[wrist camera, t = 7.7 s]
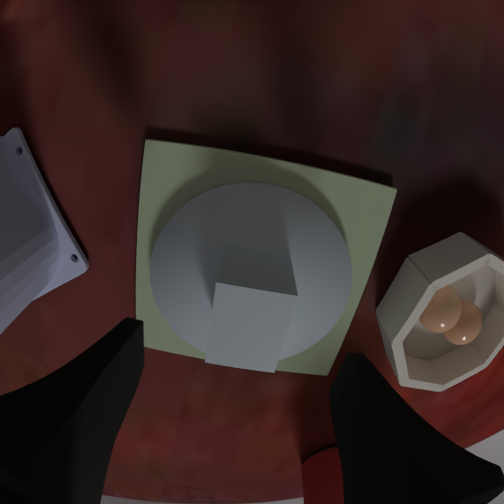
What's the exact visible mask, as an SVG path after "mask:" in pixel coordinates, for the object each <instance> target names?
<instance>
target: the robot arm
mask: <svg viewBox="0 0 504 504" xmlns="http://www.w3.org/2000/svg"><path fill="white" fill-rule="evenodd" d="M20 148H22V154H21V153H20ZM74 254H75V255H76V256H77V257H78V259H76V258H75V257H74ZM88 267H89V262H88V260H87V258H86V257H85V255H84V253H83V252H82V250H81V248H80V247H79V245H78V243H77V242H76V240H75V238H74V236H73V235H72V233H71V231H70V229H69V228H68V226H67V224H66V222H65V220H64V219H63V217H62V215H61V213H60V211H59V209H58V207H57V205H56V204H55V202H54V200H53V198H52V196H51V194H50V192H49V190H48V188H47V186H46V184H45V182H44V180H43V178H42V176H41V174H40V171H39V169H38V167H37V165H36V163H35V161H34V158H33V156H32V154H31V152H30V149H29V147H28V145H27V143H26V140H25V138H24V135H23V133H22V131H21V129H20V128H18V127H17V128H12V129H11V130H10V131H9V132H8V133H7V134H6V135H5V136H1V137H0V334H1V333H2V332H3V331H4V330H5V329H6V328H7V327H8V325H9V324H10V323H11V322H12V321H13V320H14V319H15V318H16V317H17V316H18V315H19V314H20V313H21V312H22V311H23V310H24V308H25V307H26V306H27V305H28V304H29V303H30V302H31V301H33V300H35V299H36V298H38V297H40V296H42V295H44V294H45V293H47V292H49V291H51V290H53V289H55V288H56V287H58V286H60V285H62V284H64V283H66V282H67V281H69V280H71V279H73V278H75V277H77V276H79V275H81V274H82V273H84V272H85V271H86V270H87V269H88ZM143 366H144V321H142V320H138V319H133V318H129V317H127V318H125V319H124V320H123V321H121V322H120V323H119V324H118V325H116V326H115V327H114V328H113V329H112V330H111V331H109V332H108V333H107V334H106V335H104V336H103V337H102V338H101V339H100V340H98V341H97V342H96V343H94V344H93V345H92V346H91V347H89V348H88V349H87V350H85V351H84V352H83V353H81V354H80V355H78V356H77V357H76V358H74V359H73V360H71V361H70V362H68V363H67V364H65V365H64V366H62V367H61V368H59V369H57V370H56V371H54V372H52V373H51V374H49V375H47V376H45V377H43V378H42V379H40V380H37V381H35V382H33V383H31V384H29V385H26V386H24V387H22V388H20V389H17V390H15V391H12V392H9V393H7V394H4V395H1V396H0V504H100V501H101V497H102V491H103V486H104V482H105V477H106V473H107V469H108V464H109V461H110V457H111V453H112V449H113V446H114V443H115V440H116V437H117V434H118V432H119V429H120V427H121V425H122V422H123V420H124V417H125V415H126V413H127V410H128V408H129V406H130V403H131V401H132V399H133V396H134V394H135V392H136V389H137V387H138V384H139V380H140V377H141V373H142V370H143ZM329 394H330V409H331V417H332V422H333V427H334V432H335V437H336V441H337V446H338V451H339V456H340V461H341V467H342V475H343V492H344V504H487V503H489V502H490V501H491V500H493V499H494V498H495V497H497V496H498V495H499V494H500V493H501V492H503V491H504V474H503V472H502V470H501V467H500V466H498V465H496V464H493V463H491V462H489V461H487V460H484V459H482V458H480V457H478V456H476V455H474V454H472V453H470V452H468V451H467V450H465V449H463V448H462V447H460V446H458V445H457V444H455V443H454V442H452V441H451V440H449V439H448V438H447V437H445V436H444V435H442V434H441V433H440V432H438V431H437V430H436V429H435V428H433V427H432V426H431V425H430V424H429V423H427V422H426V421H425V420H424V419H423V418H422V417H421V416H420V415H418V414H417V413H416V412H415V411H414V410H413V409H412V408H411V407H410V406H409V405H408V404H407V403H406V402H405V401H404V399H403V398H402V397H401V396H400V395H399V394H398V393H397V392H396V391H395V390H394V389H393V387H392V386H391V385H390V384H389V383H388V382H387V381H386V379H385V378H384V377H383V376H382V375H381V374H380V372H379V371H378V370H377V369H376V368H375V367H374V365H373V364H372V363H371V362H370V361H369V360H368V359H367V358H366V357H365V355H364V354H362V353H350V352H348V353H347V355H346V357H345V359H344V361H343V363H342V365H341V367H340V369H339V372H338V374H337V376H336V378H335V380H334V382H333V384H332V386H331V388H330V390H329Z"/></svg>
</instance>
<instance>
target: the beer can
mask: <svg viewBox="0 0 504 504" xmlns="http://www.w3.org/2000/svg"><path fill="white" fill-rule="evenodd" d="M301 471H302V484H303V497H304V504H344V492H343V475H342V467H341V461H340V456H339V451H338V446H333V447H329V448H326V449H323V450H320V451H318V452H316V453H315V454H313V455H311V456H310V457H309V458H308V459H307V460H306V461H305V462H304V463H303V465H302V469H301Z"/></svg>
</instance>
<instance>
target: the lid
mask: <svg viewBox="0 0 504 504" xmlns="http://www.w3.org/2000/svg"><path fill="white" fill-rule="evenodd" d="M150 283H151V289H152V293H153V296H154V299H155V302H156V305H157V307H158V309H159V311H160V313H161V314H162V316H163V318H164V319H165V321H166V322H167V323H168V325H169V326H170V327H171V328H172V329H173V330H174V332H176V333H177V334H178V335H179V336H180V337H181V338H182V339H183V340H185V341H186V342H187V343H189V344H190V345H191V346H193V347H195V348H197V349H198V350H200V351H202V352H204V353H206V358H205V362H207V363H212V364H218V365H224V366H230V367H237V368H243V369H250V370H257V371H265V372H273V373H274V372H275V369H276V366H277V363H278V360H281V359H285V358H288V357H291V356H293V355H296V354H298V353H300V352H302V351H304V350H306V349H308V348H309V347H311V346H313V345H314V344H315V343H317V342H318V341H319V340H321V339H322V338H323V337H324V336H325V335H326V334H327V333H328V332H329V331H330V330H331V329H332V328H333V327H334V325H335V324H336V323H337V321H338V320H339V318H340V317H341V315H342V313H343V311H344V309H345V307H346V305H347V302H348V299H349V296H350V292H351V285H352V264H351V258H350V254H349V251H348V248H347V245H346V243H345V241H344V239H343V237H342V235H341V233H340V231H339V230H338V228H337V227H336V225H335V224H334V222H333V221H332V220H331V218H330V217H329V216H328V215H327V214H326V213H325V212H324V211H323V209H322V208H321V207H319V206H318V205H317V204H316V203H314V202H313V201H312V200H311V199H309V198H307V197H306V196H304V195H302V194H300V193H299V192H297V191H294V190H292V189H289V188H287V187H284V186H281V185H277V184H273V183H268V182H260V181H240V182H233V183H227V184H223V185H220V186H216V187H213V188H211V189H209V190H206V191H204V192H202V193H200V194H198V195H197V196H195V197H194V198H192V199H190V200H189V201H188V202H187V203H185V204H184V205H183V206H182V207H181V208H179V209H178V211H177V212H176V213H175V214H174V215H173V216H172V217H171V219H170V220H169V221H168V222H167V224H166V225H165V227H164V228H163V230H162V231H161V233H160V234H159V237H158V239H157V241H156V243H155V246H154V249H153V253H152V256H151V263H150Z"/></svg>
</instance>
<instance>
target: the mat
mask: <svg viewBox="0 0 504 504" xmlns="http://www.w3.org/2000/svg"><path fill="white" fill-rule="evenodd" d="M240 181H260V182H268V183H273V184H277V185H281V186H284V187H287V188H289V189H292V190H294V191H297V192H299V193H300V194H302V195H304V196H306V197H307V198H309V199H311V200H312V201H313V202H314V203H316V204H317V205H318V206H319V207H321V208H322V209H323V211H324V212H325V213H326V214H327V215H328V216H329V217H330V218H331V220H332V221H333V222H334V224H335V225H336V227H337V228H338V230H339V231H340V233H341V235H342V237H343V239H344V241H345V243H346V245H347V248H348V251H349V254H350V258H351V264H352V285H351V292H350V296H349V299H348V302H347V305H346V307H345V309H344V311H343V313H342V315H341V317H340V318H339V320H338V321H337V323H336V324H335V325H334V327H333V328H332V329H331V330H330V331H329V332H328V333H327V334H326V335H325V336H324V337H323V338H322V339H321V340H319V341H318V342H317V343H315V344H314V345H313V346H311V347H309V348H308V349H306V350H304V351H302V352H300V353H298V354H296V355H293V356H291V357H288V358H285V359H281V360H278V363H277V366H276V369H275V370H278V371H287V372H295V373H305V374H315V375H326V376H327V375H328V373H329V371H330V369H331V367H332V365H333V363H334V360H335V358H336V356H337V354H338V351H339V349H340V347H341V345H342V342H343V340H344V338H345V335H346V333H347V331H348V328H349V326H350V324H351V321H352V319H353V316H354V314H355V311H356V309H357V306H358V304H359V301H360V299H361V296H362V293H363V291H364V288H365V286H366V283H367V280H368V278H369V275H370V272H371V269H372V266H373V264H374V261H375V258H376V255H377V252H378V249H379V246H380V243H381V240H382V237H383V234H384V231H385V228H386V225H387V222H388V219H389V215H390V212H391V209H392V205H393V202H394V199H395V195H396V192H397V189H395V188H394V187H391V186H387V185H384V184H380V183H376V182H373V181H369V180H365V179H362V178H358V177H354V176H350V175H346V174H342V173H338V172H334V171H330V170H325V169H321V168H317V167H312V166H308V165H303V164H299V163H294V162H289V161H285V160H280V159H275V158H270V157H265V156H259V155H254V154H248V153H243V152H237V151H231V150H225V149H219V148H213V147H206V146H199V145H192V144H185V143H178V142H170V141H162V140H153V139H147V140H145V148H144V157H143V166H142V176H141V187H140V200H139V214H138V231H137V256H136V319H138V320H142V321H144V347H149V348H153V349H157V350H162V351H166V352H171V353H176V354H181V355H186V356H191V357H196V358H201V359H205V358H206V353H204V352H202V351H200V350H198V349H197V348H195V347H193V346H191V345H190V344H189V343H187V342H186V341H185V340H183V339H182V338H181V337H180V336H179V335H178V334H177V333H176V332H174V330H173V329H172V328H171V327H170V326H169V325H168V323H167V322H166V321H165V319H164V318H163V316H162V314H161V313H160V311H159V309H158V307H157V305H156V302H155V299H154V296H153V293H152V289H151V283H150V263H151V256H152V253H153V249H154V246H155V243H156V241H157V239H158V237H159V234H160V233H161V231H162V230H163V228H164V227H165V225H166V224H167V222H168V221H169V220H170V219H171V217H172V216H173V215H174V214H175V213H176V212H177V211H178V209H179V208H181V207H182V206H183V205H184V204H185V203H187V202H188V201H189V200H190V199H192V198H194V197H195V196H197V195H198V194H200V193H202V192H204V191H206V190H209V189H211V188H213V187H216V186H220V185H223V184H227V183H233V182H240Z"/></svg>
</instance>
